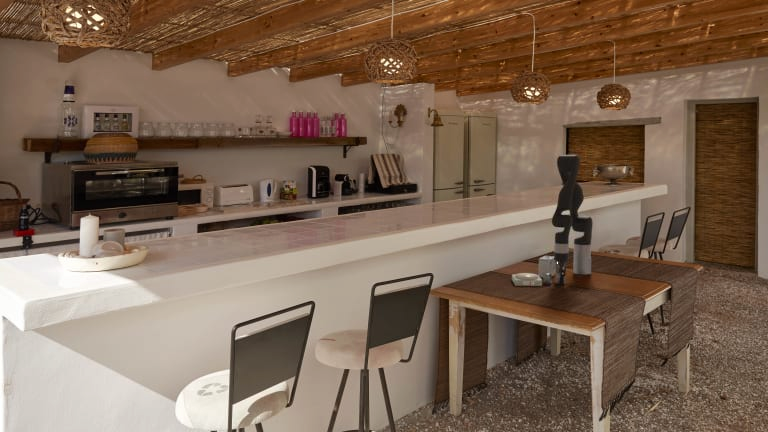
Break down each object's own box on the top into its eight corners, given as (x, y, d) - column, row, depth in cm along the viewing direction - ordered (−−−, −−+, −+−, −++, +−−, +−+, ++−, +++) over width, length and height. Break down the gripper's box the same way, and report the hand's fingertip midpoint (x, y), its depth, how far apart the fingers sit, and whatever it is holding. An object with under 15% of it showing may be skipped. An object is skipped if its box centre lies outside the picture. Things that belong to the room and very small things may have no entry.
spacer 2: (563, 282, 320) (564, 273, 319) (565, 284, 315) (565, 275, 315) (555, 282, 320) (555, 273, 320) (557, 284, 316) (557, 275, 315)
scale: (537, 280, 326) (537, 272, 325) (542, 286, 311) (542, 278, 311) (511, 279, 327) (512, 272, 327) (515, 285, 313) (515, 278, 312)
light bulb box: (544, 273, 342) (544, 255, 341) (555, 274, 339) (556, 256, 337) (538, 277, 334) (538, 258, 332) (549, 278, 330) (550, 259, 328)
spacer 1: (550, 282, 320) (550, 273, 320) (552, 284, 316) (552, 274, 316) (542, 282, 321) (542, 273, 320) (543, 283, 317) (544, 274, 316)
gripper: (571, 253, 308) (570, 285, 310) (565, 249, 323) (564, 279, 325) (556, 253, 309) (556, 285, 311) (551, 249, 323) (551, 279, 325)
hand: (560, 282), depth 318 cm, fingers open, 4 cm apart
